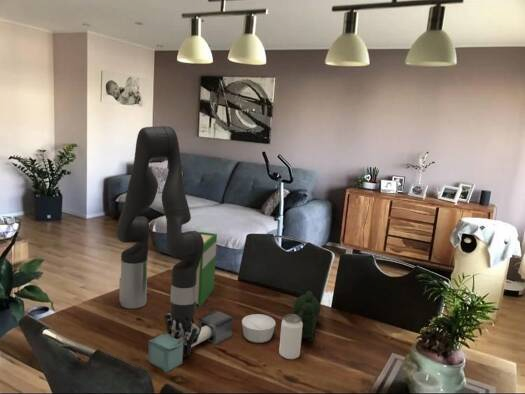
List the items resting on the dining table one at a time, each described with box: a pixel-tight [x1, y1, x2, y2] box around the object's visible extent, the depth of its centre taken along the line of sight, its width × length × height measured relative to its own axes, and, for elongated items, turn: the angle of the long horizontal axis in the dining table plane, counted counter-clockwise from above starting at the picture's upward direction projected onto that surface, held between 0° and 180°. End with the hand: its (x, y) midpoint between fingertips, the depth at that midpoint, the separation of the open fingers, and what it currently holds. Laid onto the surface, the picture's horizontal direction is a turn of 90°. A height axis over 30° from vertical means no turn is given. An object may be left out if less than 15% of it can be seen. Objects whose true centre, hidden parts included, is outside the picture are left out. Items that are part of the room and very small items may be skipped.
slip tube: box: [177, 325, 213, 348], centre depth 129 cm, size 4×22×4 cm, turn 143°
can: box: [278, 313, 303, 360], centre depth 129 cm, size 6×6×12 cm
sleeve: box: [198, 309, 234, 346], centre depth 137 cm, size 8×8×6 cm
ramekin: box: [241, 313, 276, 344], centre depth 139 cm, size 11×11×5 cm
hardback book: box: [196, 231, 218, 308], centre depth 165 cm, size 18×7×24 cm, turn 170°
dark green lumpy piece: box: [293, 290, 321, 343], centre depth 144 cm, size 9×19×25 cm
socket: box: [147, 332, 184, 373], centre depth 120 cm, size 8×6×6 cm
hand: (181, 351), depth 126 cm, fingers closed on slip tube, 4 cm apart
